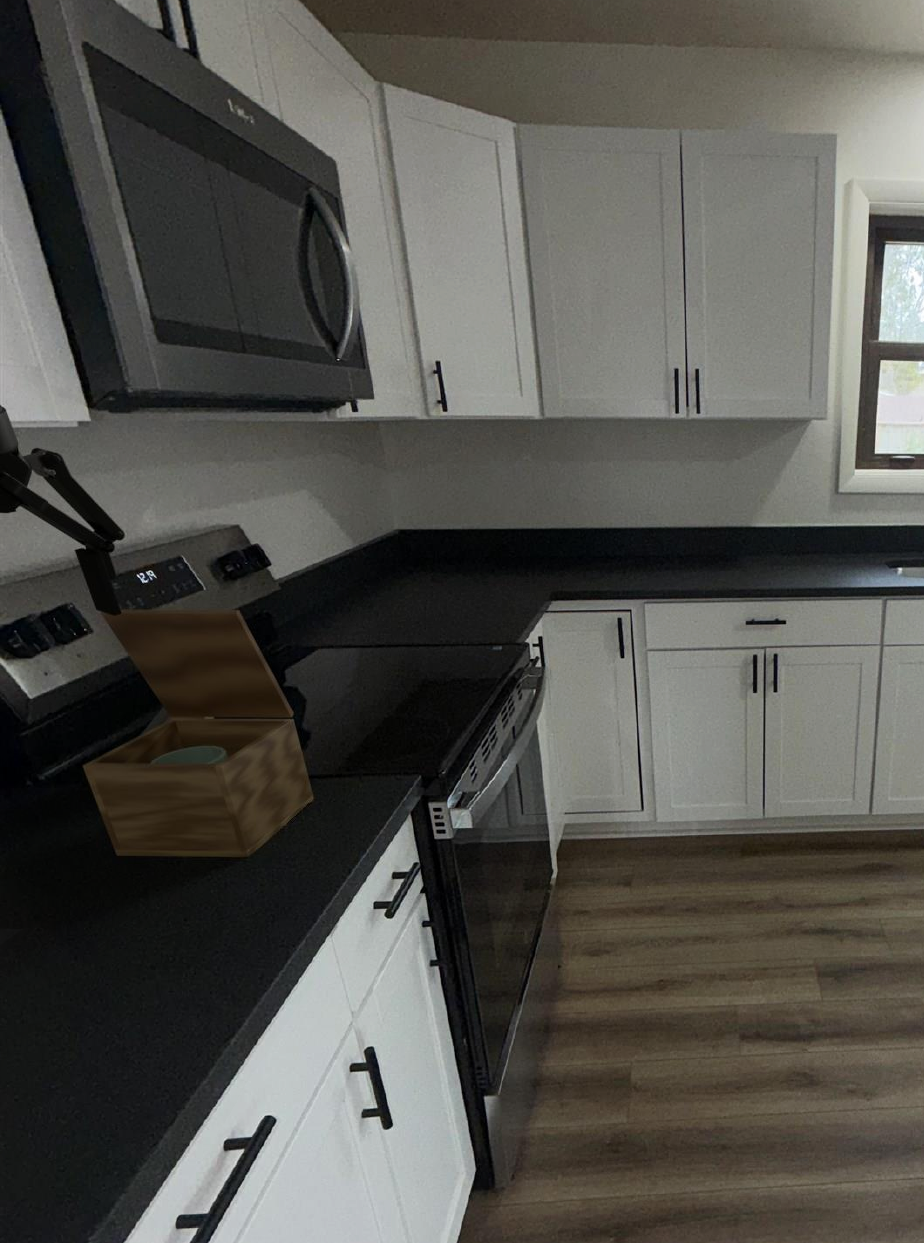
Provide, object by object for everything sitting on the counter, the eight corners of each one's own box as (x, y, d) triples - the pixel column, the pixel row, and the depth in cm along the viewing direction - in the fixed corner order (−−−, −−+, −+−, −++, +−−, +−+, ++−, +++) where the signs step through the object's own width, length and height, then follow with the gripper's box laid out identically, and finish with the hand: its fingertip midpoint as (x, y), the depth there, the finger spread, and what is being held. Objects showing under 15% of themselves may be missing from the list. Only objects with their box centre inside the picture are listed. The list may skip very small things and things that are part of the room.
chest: (248, 857, 99) (221, 766, 94) (116, 856, 99) (82, 765, 94) (314, 800, 113) (293, 718, 108) (199, 799, 114) (172, 718, 109)
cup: (159, 843, 101) (133, 771, 96) (200, 814, 108) (178, 745, 104) (222, 844, 100) (199, 771, 96) (259, 814, 108) (239, 745, 104)
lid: (235, 613, 96) (238, 609, 97) (100, 613, 97) (104, 609, 97) (291, 717, 108) (294, 713, 108) (170, 716, 108) (173, 713, 109)
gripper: (-225, 432, 57) (-86, 695, 68) (123, 394, 77) (185, 603, 88) (-289, 413, 59) (-143, 672, 70) (67, 381, 79) (135, 587, 90)
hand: (40, 634), depth 79 cm, fingers open, 13 cm apart
